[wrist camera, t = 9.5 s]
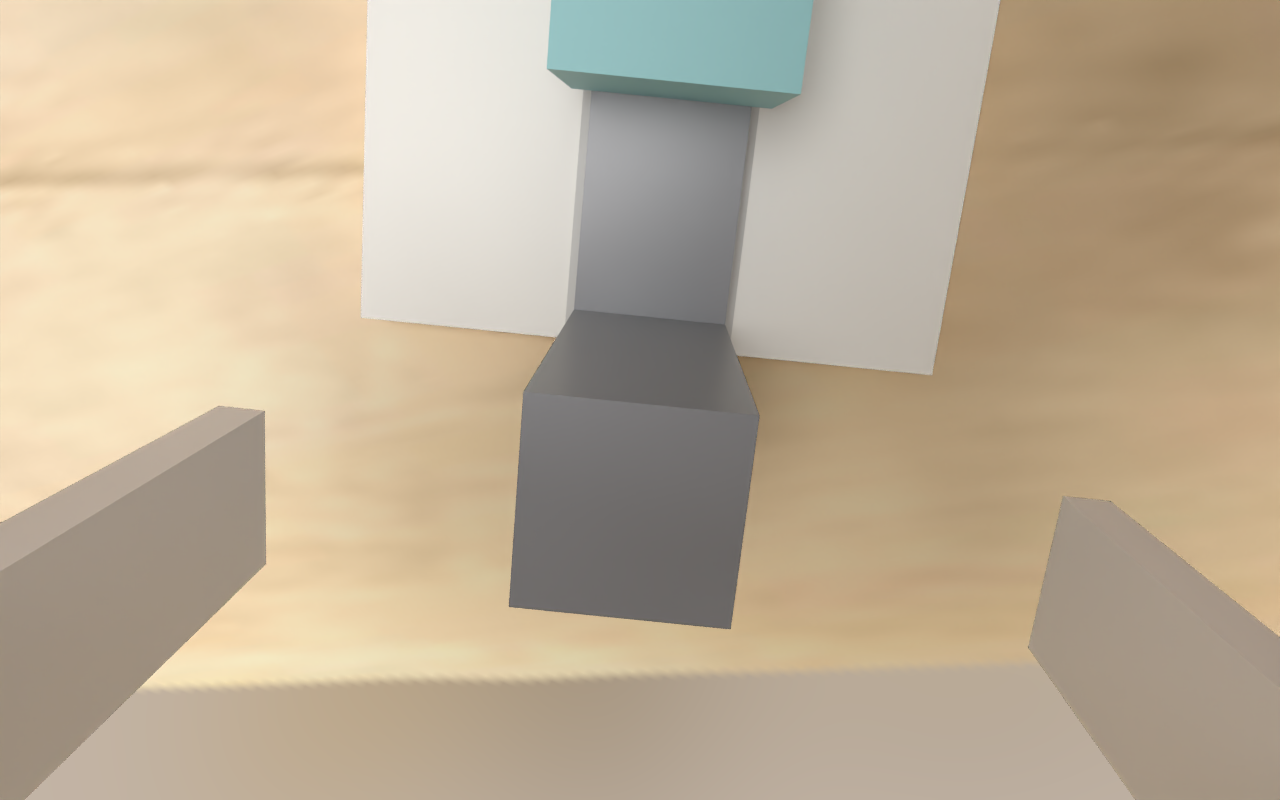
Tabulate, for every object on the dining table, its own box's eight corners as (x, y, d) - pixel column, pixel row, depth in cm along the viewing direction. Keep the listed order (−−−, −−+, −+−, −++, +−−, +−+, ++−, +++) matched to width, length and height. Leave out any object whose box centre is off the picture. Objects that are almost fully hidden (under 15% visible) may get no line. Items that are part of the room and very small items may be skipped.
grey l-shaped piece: (791, -244, 22) (892, -567, 12) (701, 489, 26) (723, 678, 17) (623, -261, 22) (589, -598, 12) (563, 475, 26) (505, 656, 17)
